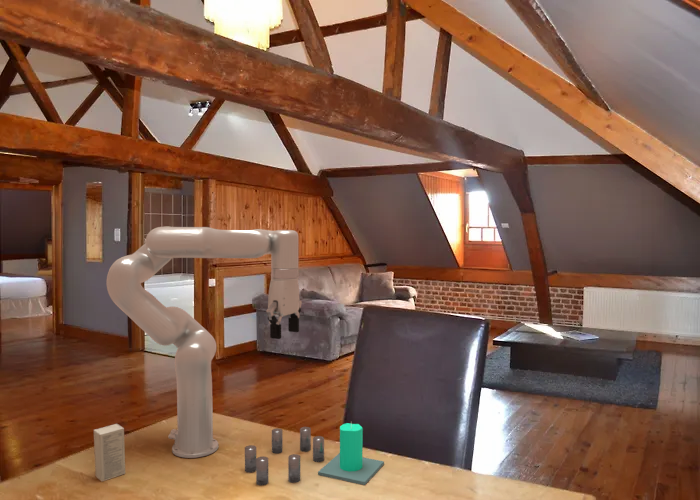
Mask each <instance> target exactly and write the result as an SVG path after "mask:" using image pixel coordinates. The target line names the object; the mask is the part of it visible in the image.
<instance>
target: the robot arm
mask: <svg viewBox="0 0 700 500" xmlns="http://www.w3.org/2000/svg"><path fill="white" fill-rule="evenodd" d="M266 255H271V256H270V257H271V260H270V263H271V264H270V265H271V275H270V276H271V277H270V278H271V280H270V283H269V289H268V298H267V299H268V300H267V302H268V303H267V309H266V310H265V312H266V316H267V320H268V324H269V329H270V330H269V336H270V337H269V338H271V339H275V340H276V339H277V340H281V339H282V324H281V322H282V318H283V317H287V316H289V317H288V321H287V322H288V327H287V328H288V330H287V331H288V332H290V333H299V332H300V317H301V311H302V303H303V301H302V300H301V299H300V288H299V234H298V231H296V230H294V229H293V230H292V229H277V230H269V229H264V228H262V229H261V228H256V229H247V230H245V229H244V230H243V229H242V230H238V229H231V230H230V229H217V228H213V227H209V226H168V225H167V226H165V225H164V226H158V227H155V228H153V229H151V230H150V231H149V232H148V233H147V235H146V237H145V243H144V244H143V245H141V246H140V247H139V248H138V249H137V250H136V251H134V252H133V253H131V254H128V255H125V256H122V257H120V258H118V259H115V261H114V262H112V265H111V266H110V267H109V270H108V272H107V275H106V289H107V290H106V291H107V293H108V295H109V298H110V299H111V301H112V302H113V303H114V304H115V305H116V306H117V308H119V309H120V310H121V311H122V312H123V313H124V314H125V315H126V316H127V317H129V319H131V321H133V322H134V324H136V326H137V327H139V328H140V329H141V330H142V331H143V332H144V333H146V335H147V336H148V337H149V338H151V339H152V340H153V341H154V342H155V343H156V344H158V345H160V346H170V345H172V344H173V345H174V346H175V347H176V348H177V350H176V352H175V355H174V369H175V378H176V402H177V403H176V408H177V413H176V416H177V418H176V419H177V429H176V428H172V429H171V430H170V432H169V434H168V436H167V437H168V439H170V440H174V443H173V445H172V447H171V452H172V453H173V455H175V456H176V457H180V458H183V459H185V458H186V459H188V458H189V459H195V458H202V457H203V458H204V457H205V456H206V457H207V456H209V455H212V454H213V453H215V452H216V451H217V450H218V449H219V441H218V440H217V439H215V438H214V437H213V436H214V434H213V433H214V432H213V431H214V429H213V423H214V422H213V421H214V420H213V417H214V416H213V410H214V409H213V377H212V361H213V359H214V357H215V355H216V352H217V342H216V339H215V338H214V336H213V335H212V334H211V333H210V332H209V331H208V329H206V328H205V327H203V326H202V325H201V323H199V322H198V320H196V319H195V318H194V317H193V316H192V315H191V314H190V313H188V312H187V311H186V310H184V308H180V307H178V306H165V305H164V304H163V303H162V302H161V301H160V300H158V298H157V297H156V296H155V295H153V294H152V293H151V292H149V291H147V290H146V289H145V288H144V287H143V285H142V283H144V282H147V281H148V280H150V279H151V278H153V277H154V275H156V273H158V272H159V271H160V270H161V269H162V268H163V267H164V266H165V265H167V264H168V263H169V262H170V261H171V260H172V259H178V258H179V259H180V258H181V259H182V258H183V259H184V258H185V259H186V258H188V259H190V258H191V259H193V258H194V259H257V258H262V257H263V256H266Z"/></svg>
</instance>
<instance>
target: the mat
mask: <svg viewBox="0 0 700 500" xmlns="http://www.w3.org/2000/svg"><path fill="white" fill-rule="evenodd" d="M384 465H385V461H383V460H379V459H373V458H368V457H363V456H362V468H361V469H360V470H358V471H344V470H342V469H341V468H340V452H339V453H338V454H337V455H335V456H334V457H333V458H332V459H331V460H329V462H327V464H325V465H324V466H323V467H322V468H321V469H319V470H318V472H317V475H318V476H320V477H326V478H329V479H334V480H339V481H345V482H347V483H353V484H356V485H363V486H366V484H367V483H368V482H370V480H371V479H372V478H373V477H374V476H375V475H376V473H378V471H379V470H380V469H381V468H382V467H383V466H384Z"/></svg>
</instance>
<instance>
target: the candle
mask: <svg viewBox="0 0 700 500" xmlns="http://www.w3.org/2000/svg"><path fill="white" fill-rule="evenodd" d="M363 431H364V428H363V427H362V426H361V425H360V424H359V423H352V421H350V423H348V422H346V423H343V424H342V425H340V426H339V453H340V468H341V469H342V470H344V471H358V470H360V469H361V468H362V457H363V452H364V451H363V446H364V445H363V440H364V439H363V433H364V432H363Z"/></svg>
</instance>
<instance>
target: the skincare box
mask: <svg viewBox="0 0 700 500" xmlns="http://www.w3.org/2000/svg"><path fill="white" fill-rule="evenodd" d="M93 449H94V451H93V452H94V475H95V478H97V479H98V480H99V481H101V482H104V481H107V480H110V479H113V478H117V477H120V476H122V475H125V474H126V454H125V453H126V452H125V451H126V449H125V428H124V426H121V425H120V424H118V423H114V424H111V425H107V426H104V427H99V428H96V429H93Z"/></svg>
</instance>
